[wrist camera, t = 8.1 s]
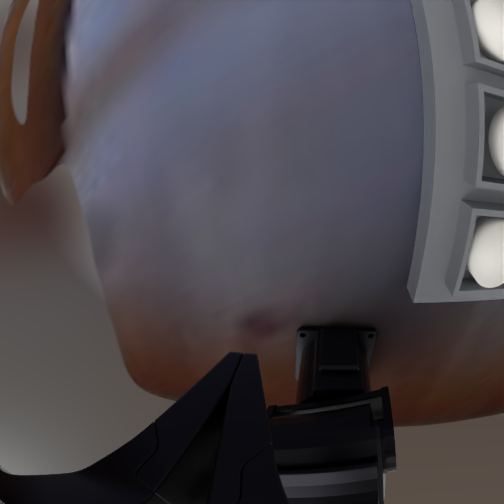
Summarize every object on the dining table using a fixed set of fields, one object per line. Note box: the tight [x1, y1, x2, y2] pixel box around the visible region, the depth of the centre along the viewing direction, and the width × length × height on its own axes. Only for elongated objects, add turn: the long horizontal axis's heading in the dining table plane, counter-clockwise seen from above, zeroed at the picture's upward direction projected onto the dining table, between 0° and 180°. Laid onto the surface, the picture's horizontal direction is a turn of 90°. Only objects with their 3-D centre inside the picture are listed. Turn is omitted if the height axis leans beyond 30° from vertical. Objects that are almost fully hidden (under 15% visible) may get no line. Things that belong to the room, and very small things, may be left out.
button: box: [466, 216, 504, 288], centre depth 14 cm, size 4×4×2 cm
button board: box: [407, 0, 504, 303], centre depth 12 cm, size 23×10×4 cm, turn 5°
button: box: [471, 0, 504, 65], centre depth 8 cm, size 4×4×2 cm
